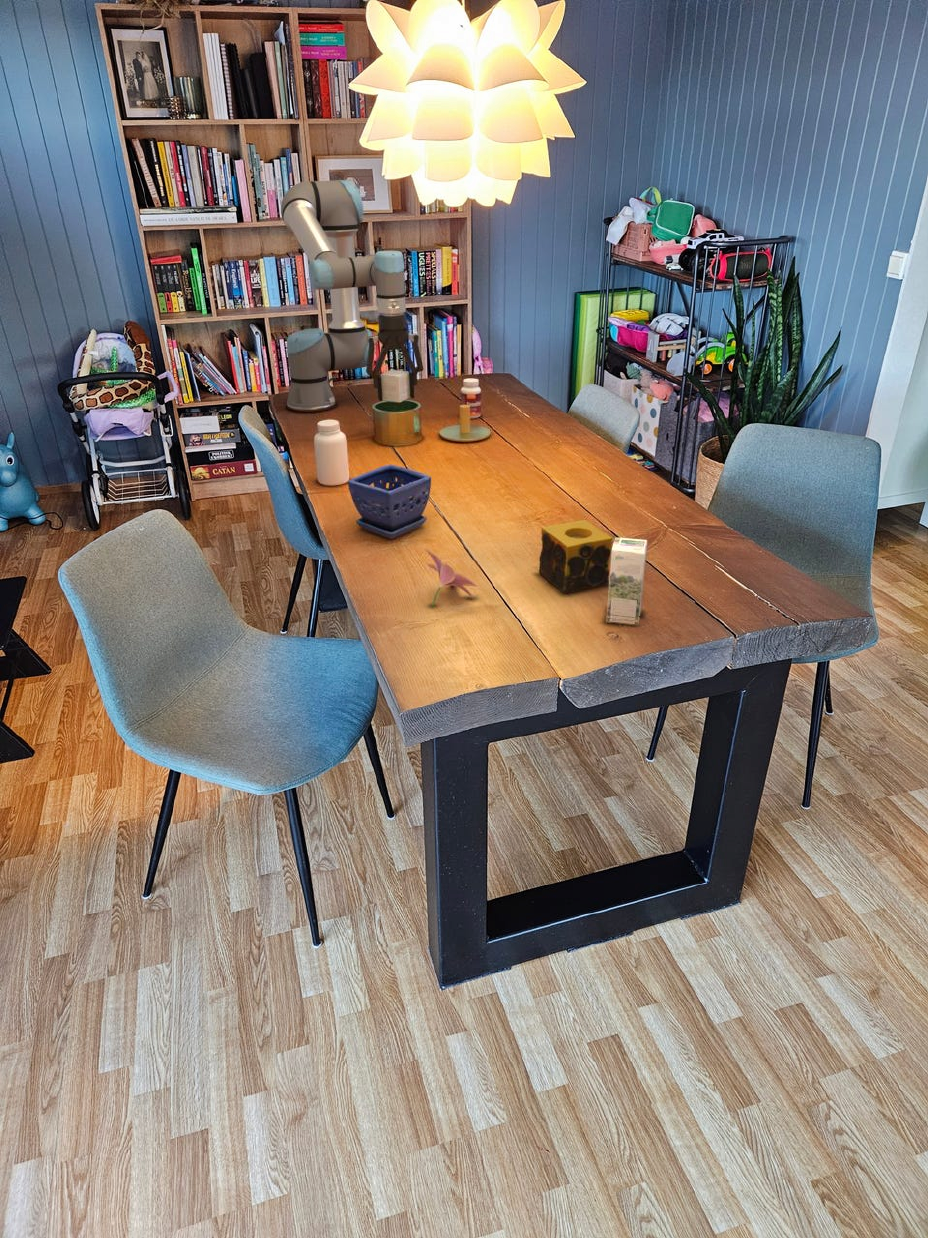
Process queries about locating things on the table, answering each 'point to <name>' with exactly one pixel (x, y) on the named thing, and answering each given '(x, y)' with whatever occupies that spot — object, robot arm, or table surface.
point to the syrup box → (626, 580)
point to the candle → (575, 556)
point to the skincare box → (395, 385)
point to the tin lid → (464, 428)
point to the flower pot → (390, 500)
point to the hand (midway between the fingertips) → (396, 398)
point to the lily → (449, 576)
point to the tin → (397, 423)
